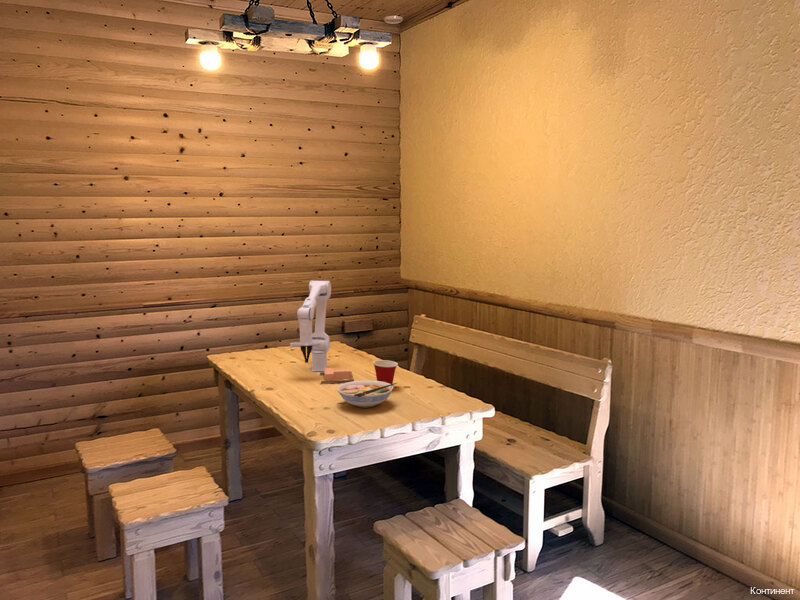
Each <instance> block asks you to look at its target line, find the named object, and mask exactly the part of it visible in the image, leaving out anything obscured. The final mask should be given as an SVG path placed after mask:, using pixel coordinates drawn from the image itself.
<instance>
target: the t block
mask: <svg viewBox="0 0 800 600" xmlns="http://www.w3.org/2000/svg"><path fill="white" fill-rule="evenodd" d="M333 368H334V367H328V368H324V371H323V372H324V375H323V376H324V378H323V379H324V381H334V380H343V379H350V380H351V372H352V370H351V369H350V368H345V369H343V368H342V369H340V368H339V369H333Z"/></svg>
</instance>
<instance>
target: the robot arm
mask: <svg viewBox="0 0 800 600" xmlns="http://www.w3.org/2000/svg"><path fill="white" fill-rule="evenodd" d="M308 290H309V294H308V297H306V298H305V299H304V301H303V304H302V305H301V306H300V307H299V308H298V309H297V311H296V312H297V314H296V315H297V321H298V324H299V341H298V342H297V341H296V342H295V341H294V342H290V343H289V344H290V345H289V347H290V348H291V349H292V348H300V351H301V352H302V355H303V358H304V363H309V358H310V355H311V368H310V369H311V372H312V373H315V372H324V368H329V367H328V362H327V361H328V357H327V356H328V353H327V352H329V351H330V349H331V342H330V340H331V339H330V338H331V337H330V335H328V334H327V333H326V331H325V330H326V317H327V316H326V315H327V303H328V299H331V295H332V283H331V281H330V280H313V279H312V280H310V281H309V283H308ZM315 308H316V311H315ZM314 316H315V321H314V323H315V324H314V331H313V319H314Z"/></svg>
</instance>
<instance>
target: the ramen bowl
mask: <svg viewBox="0 0 800 600" xmlns="http://www.w3.org/2000/svg"><path fill="white" fill-rule="evenodd" d="M397 384H398V382H394V383H393V384H389V383H386V382H381V381H377V380H367V379H366V380H354V381H352V382H347V383H340V385H338V386H337V387H336V390H337V392H338V394H339V395H340V396H341V398H342V399H343V400H344V401H345V402H346V403H348V404H351V405H353V406H355V407H357V408H363V409H366V408H368V409H369V408H372V407H374V406H377V405H380V404H381V403H383V402H385V401H386V400H388V399H389V397H390V395H391V393H392V391H393V390H394V385H397Z"/></svg>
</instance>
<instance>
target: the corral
mask: <svg viewBox="0 0 800 600" xmlns="http://www.w3.org/2000/svg"><path fill="white" fill-rule="evenodd" d="M319 376H324V371H321V372H319ZM352 381H355V379H354V375H353V372H352V371H351V379H350V380H334V381H325V380H320V384H321V385H332V384H333V385H334V384H335V383H338V384H344V383H347V382H352Z"/></svg>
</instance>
